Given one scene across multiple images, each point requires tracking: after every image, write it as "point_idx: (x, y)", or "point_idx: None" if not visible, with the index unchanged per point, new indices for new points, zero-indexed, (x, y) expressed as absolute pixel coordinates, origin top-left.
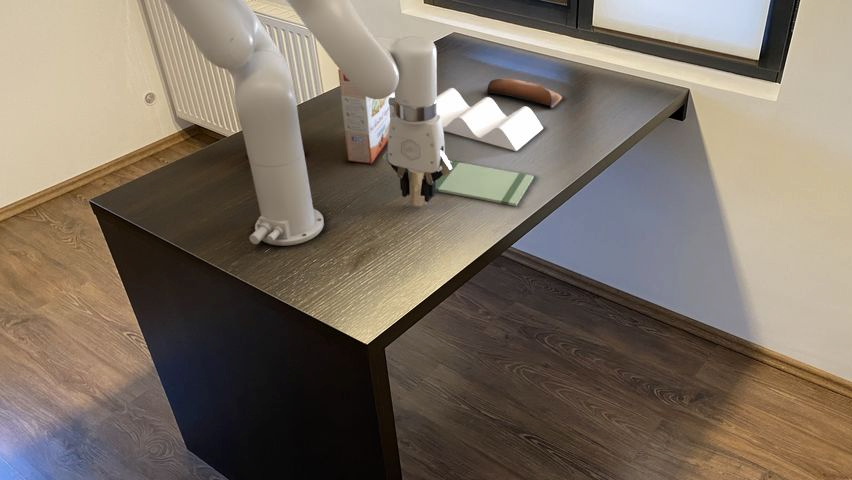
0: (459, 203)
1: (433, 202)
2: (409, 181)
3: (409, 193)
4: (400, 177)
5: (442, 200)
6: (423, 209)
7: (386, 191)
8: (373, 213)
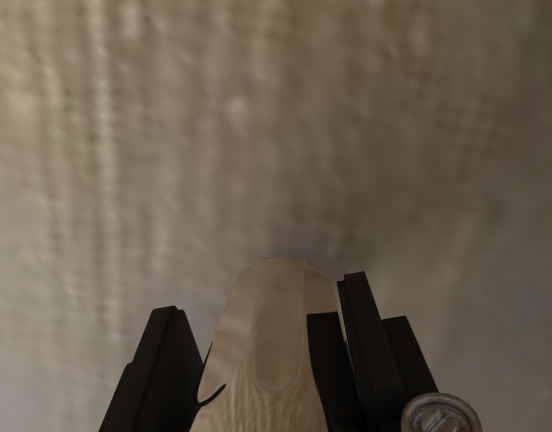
0: None
1: None
2: (306, 395)
3: (309, 309)
4: (429, 402)
5: None
6: None
7: (544, 323)
8: (504, 88)
